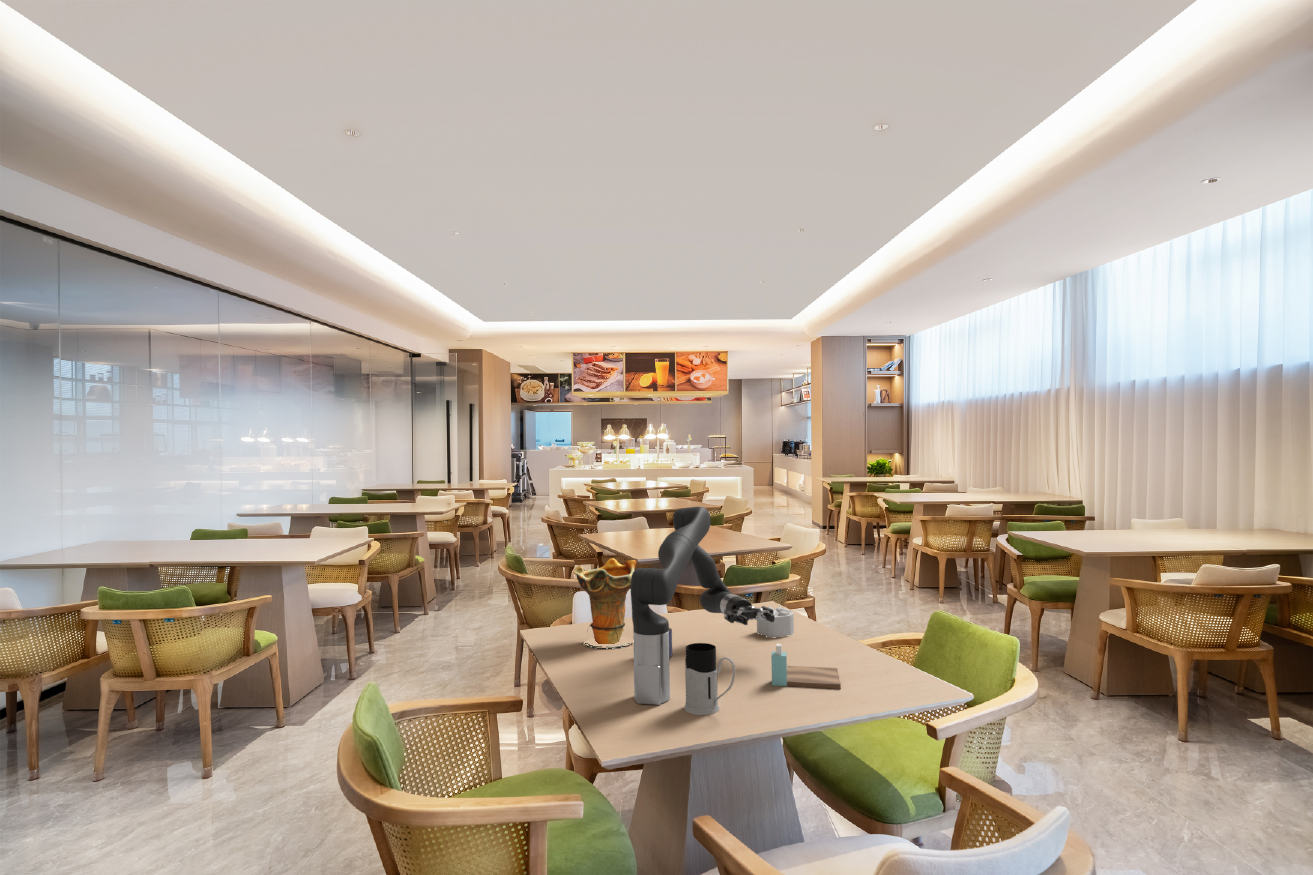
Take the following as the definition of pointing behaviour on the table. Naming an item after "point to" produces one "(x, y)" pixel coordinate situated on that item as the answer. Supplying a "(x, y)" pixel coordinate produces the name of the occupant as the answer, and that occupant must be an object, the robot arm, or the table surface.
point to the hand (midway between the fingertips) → (759, 620)
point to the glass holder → (702, 679)
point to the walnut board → (813, 677)
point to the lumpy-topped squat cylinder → (777, 624)
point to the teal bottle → (779, 666)
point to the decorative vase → (607, 598)
